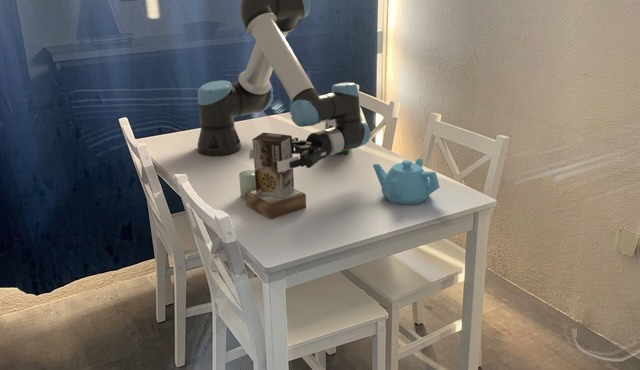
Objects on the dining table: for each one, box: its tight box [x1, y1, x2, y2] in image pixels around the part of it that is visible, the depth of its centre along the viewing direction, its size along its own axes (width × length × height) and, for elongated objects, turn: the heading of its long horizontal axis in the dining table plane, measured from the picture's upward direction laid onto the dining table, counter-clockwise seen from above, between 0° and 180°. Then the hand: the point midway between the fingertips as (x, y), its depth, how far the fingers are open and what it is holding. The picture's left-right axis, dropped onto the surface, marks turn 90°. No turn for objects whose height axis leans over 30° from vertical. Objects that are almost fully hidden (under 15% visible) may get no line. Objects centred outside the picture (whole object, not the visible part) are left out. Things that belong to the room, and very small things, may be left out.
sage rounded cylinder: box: [238, 169, 256, 201], centre depth 183 cm, size 6×6×7 cm
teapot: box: [372, 158, 440, 206], centre depth 180 cm, size 15×15×11 cm
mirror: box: [245, 188, 307, 220], centre depth 176 cm, size 12×12×4 cm
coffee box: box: [251, 132, 295, 198], centre depth 173 cm, size 9×6×16 cm
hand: (263, 160), depth 170 cm, fingers open, 13 cm apart
